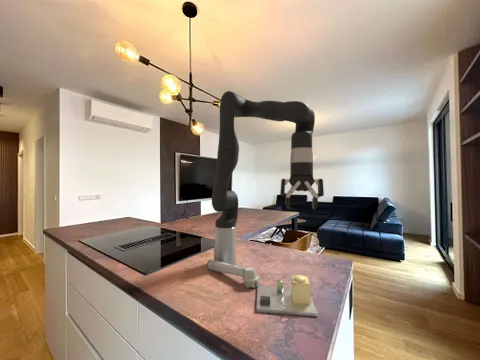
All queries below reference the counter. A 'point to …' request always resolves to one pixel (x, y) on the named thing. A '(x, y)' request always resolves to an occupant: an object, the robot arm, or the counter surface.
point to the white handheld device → (235, 272)
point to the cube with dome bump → (300, 289)
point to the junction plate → (282, 301)
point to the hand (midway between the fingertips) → (301, 208)
